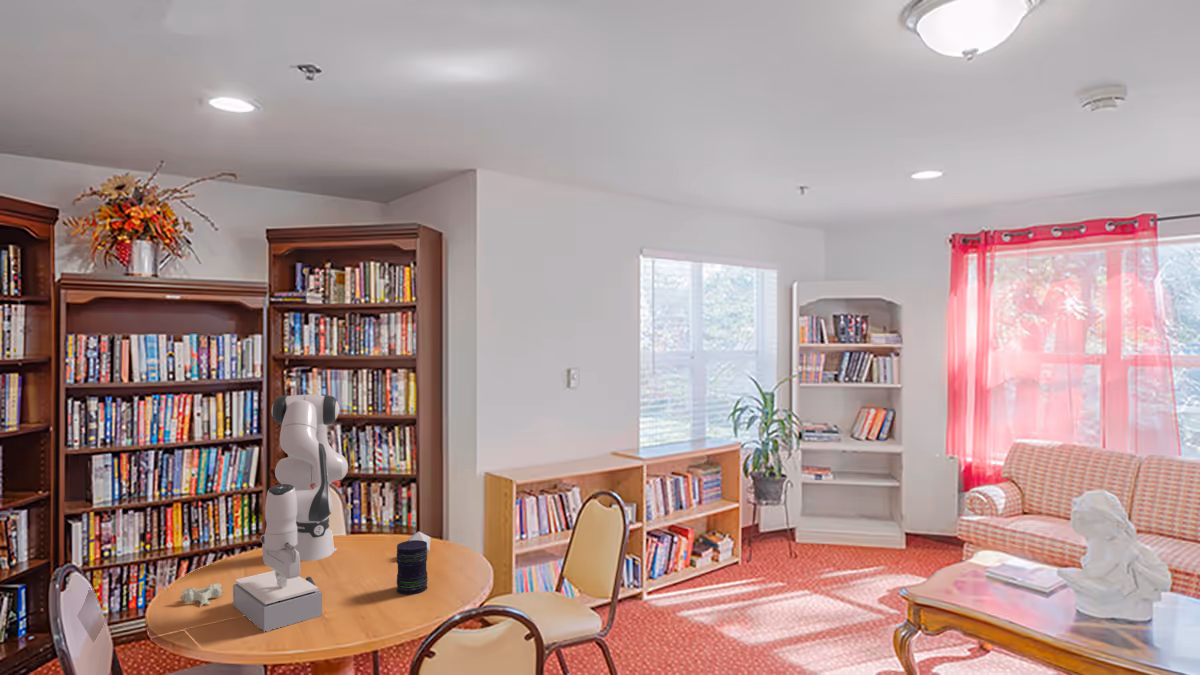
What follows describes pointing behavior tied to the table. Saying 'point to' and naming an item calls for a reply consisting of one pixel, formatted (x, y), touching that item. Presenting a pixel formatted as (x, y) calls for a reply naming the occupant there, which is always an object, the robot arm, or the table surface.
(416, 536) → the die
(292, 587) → the lid
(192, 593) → the spine bone
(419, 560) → the dark blue barrel
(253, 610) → the duct
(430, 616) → the table surface
